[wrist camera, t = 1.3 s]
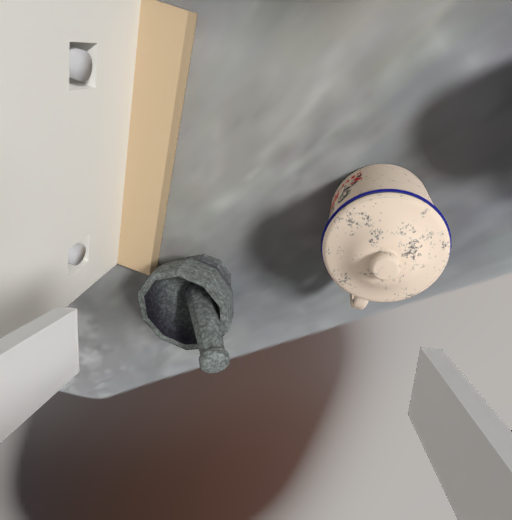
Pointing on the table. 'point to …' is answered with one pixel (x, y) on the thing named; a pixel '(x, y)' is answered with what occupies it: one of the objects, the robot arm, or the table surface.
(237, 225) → the table surface
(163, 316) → the mortar and pestle
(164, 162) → the button panel
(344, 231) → the teacup with lid
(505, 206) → the table surface
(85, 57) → the charcoal button
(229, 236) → the table surface
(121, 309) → the table surface
